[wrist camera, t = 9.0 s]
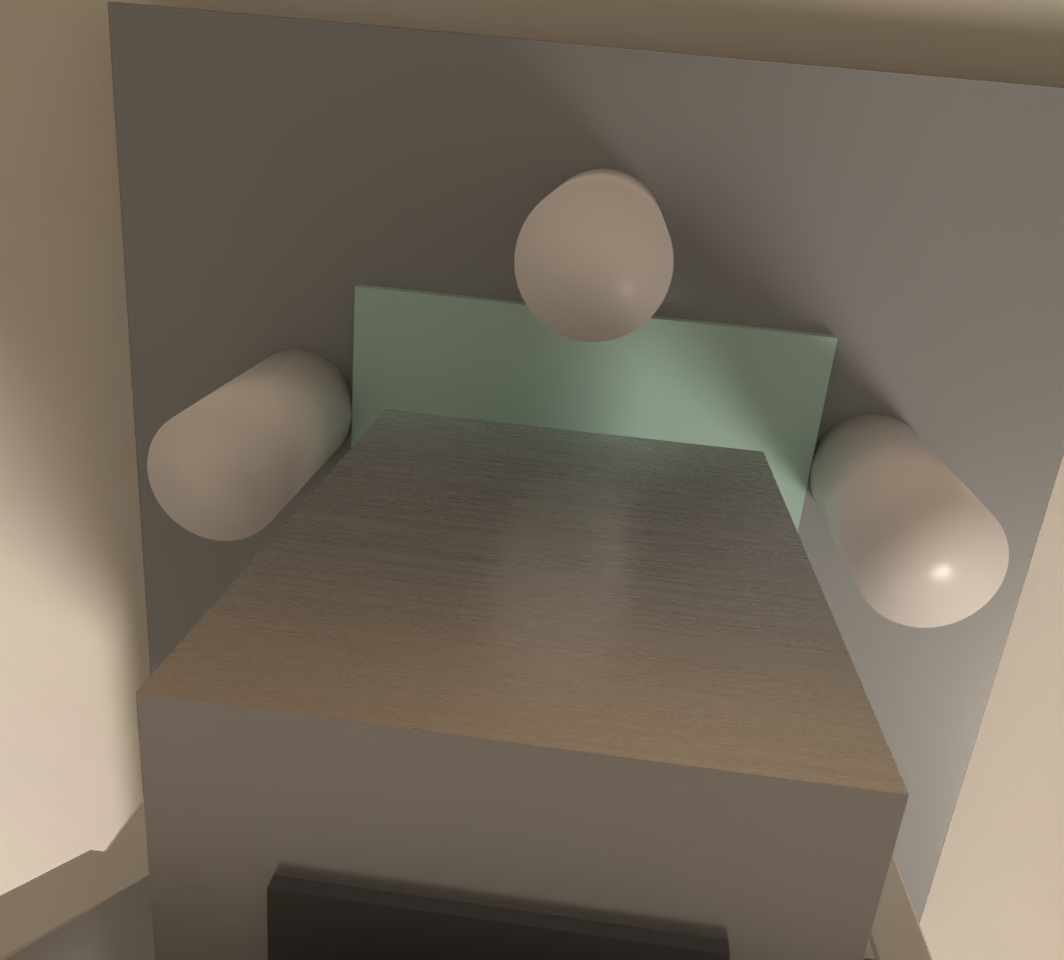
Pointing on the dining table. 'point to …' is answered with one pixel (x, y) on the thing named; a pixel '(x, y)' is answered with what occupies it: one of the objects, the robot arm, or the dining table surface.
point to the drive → (519, 718)
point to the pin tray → (749, 234)
